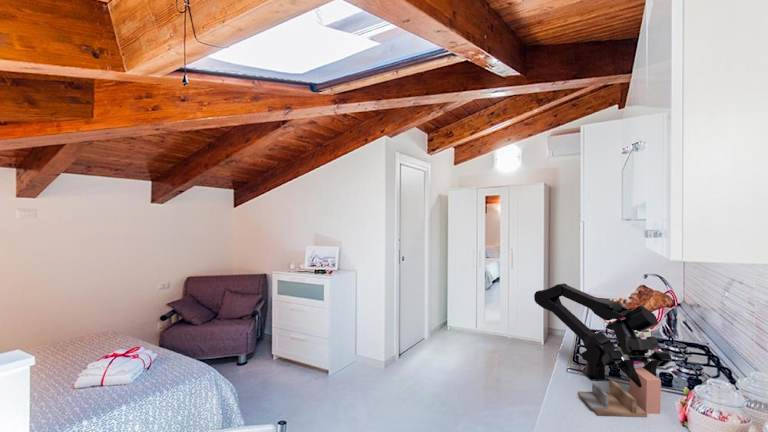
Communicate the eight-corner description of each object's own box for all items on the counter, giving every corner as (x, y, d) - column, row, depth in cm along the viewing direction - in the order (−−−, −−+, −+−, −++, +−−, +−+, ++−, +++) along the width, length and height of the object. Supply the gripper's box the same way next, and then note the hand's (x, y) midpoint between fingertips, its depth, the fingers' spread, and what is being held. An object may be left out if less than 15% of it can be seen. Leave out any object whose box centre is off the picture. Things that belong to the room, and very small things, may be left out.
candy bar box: (639, 368, 139) (640, 325, 138) (652, 374, 134) (653, 329, 133) (615, 372, 136) (616, 328, 135) (627, 378, 131) (628, 332, 130)
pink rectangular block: (629, 399, 117) (630, 367, 117) (642, 399, 117) (643, 368, 117) (646, 413, 110) (646, 380, 109) (660, 413, 109) (661, 380, 109)
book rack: (576, 394, 120) (576, 379, 120) (622, 395, 120) (623, 380, 119) (595, 415, 108) (595, 398, 108) (647, 417, 108) (647, 400, 107)
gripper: (607, 325, 117) (627, 376, 106) (669, 326, 116) (695, 378, 105) (594, 341, 125) (611, 389, 114) (651, 342, 124) (674, 391, 113)
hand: (647, 387), depth 112 cm, fingers closed on pink rectangular block, 4 cm apart
